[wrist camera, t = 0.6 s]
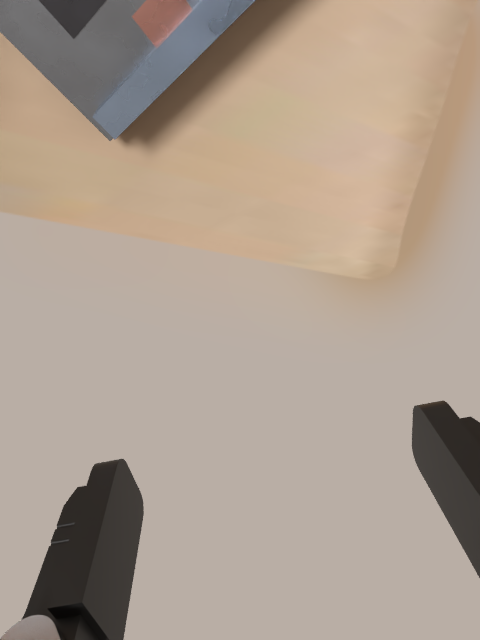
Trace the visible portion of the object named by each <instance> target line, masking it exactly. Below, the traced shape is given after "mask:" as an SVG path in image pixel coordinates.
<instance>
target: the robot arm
mask: <svg viewBox="0 0 480 640" xmlns="http://www.w3.org/2000/svg"><path fill="white" fill-rule="evenodd" d="M412 449H413V455H414V458H415V461H416V464H417V466H418V468H419V470H420V472H421V474H422V476H423V477H424V479H425V481H426V483H427V484H428V486H429V488H430V490H431V492H432V493H433V495H434V497H435V499H436V501H437V502H438V504H439V506H440V508H441V510H442V511H443V513H444V515H445V517H446V518H447V520H448V522H449V524H450V526H451V527H452V529H453V531H454V533H455V535H456V536H457V538H458V540H459V542H460V544H461V545H462V547H463V549H464V550H465V552H466V554H467V556H468V558H469V560H470V561H471V563H472V565H473V567H474V569H475V570H476V572H477V574H478V576H479V578H480V423H479V422H478V421H476V420H475V419H473V418H472V417H467V418H461V419H460V418H459V417H458V416H457V415H456V413H455V412H454V411H453V410H452V408H451V407H450V406H449V404H447V402H445V401H439V402H433V403H428V404H422V405H417V406H414V409H413V428H412ZM142 521H143V499H142V495H141V493H140V490H139V488H138V486H137V484H136V482H135V480H134V478H133V476H132V473H131V471H130V469H129V467H128V465H127V463H126V461H125V460H124V459H119V460H114V461H109V462H102V463H97V464H95V465H94V466H93V468H92V471H91V473H90V476H89V480H88V483H87V486H83V487H77V489H76V490H75V491H74V493H73V494H72V495H71V497H70V498H69V500H68V501H67V502H66V504H65V505H64V507H63V510H62V512H61V515H60V518H59V521H58V524H57V529H56V530H55V532H54V535H53V537H52V540H51V546H49V548H48V551H47V554H46V557H45V559H44V562H43V565H42V568H41V571H40V574H39V576H38V579H37V582H36V585H35V587H34V590H33V593H32V595H31V598H30V601H29V604H28V607H27V609H26V612H25V614H24V616H23V618H22V620H21V621H19V622H18V623H16V624H15V625H13V626H12V627H11V628H10V629H9V630H8V631H7V632H6V633H5V634H4V635H3V636H2V637H1V638H0V640H123V638H124V632H125V625H126V619H127V613H128V607H129V601H130V595H131V588H132V582H133V576H134V569H135V564H136V557H137V551H138V544H139V539H140V533H141V527H142Z"/></svg>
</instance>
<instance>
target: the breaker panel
mask: <svg viewBox="0 0 480 640" xmlns="http://www.w3.org/2000/svg"><path fill="white" fill-rule="evenodd" d="M254 1H255V0H0V32H1V33H2V34H3V35H4V36H5V37H6V38H7V39H8V40H9V41H10V42H11V43H12V44H13V45H14V46H15V47H16V48H17V49H18V50H19V51H20V52H21V53H22V54H23V55H24V56H25V57H26V58H27V59H28V60H29V61H30V62H31V63H32V64H33V65H34V66H35V67H36V68H37V69H38V70H39V71H40V72H41V73H42V74H43V75H44V76H45V77H46V78H47V79H48V80H49V81H50V82H51V83H52V84H53V85H54V86H55V87H56V88H57V89H58V90H59V91H60V92H61V93H62V94H63V95H64V96H65V97H66V98H67V99H68V100H69V101H70V102H71V103H72V104H73V105H74V106H75V107H76V108H77V109H78V110H79V111H80V112H81V113H82V114H83V115H84V116H85V117H86V118H87V119H88V120H89V121H90V122H91V123H92V124H93V125H94V126H95V127H96V128H97V129H98V130H99V131H100V132H101V133H102V134H103V135H104V136H105V137H106V138H107V139H108V140H109V141H111V140H112V139H113V138H114V139H116V138H117V137H118V136H119V135H120V134H121V133H122V132H123V131H124V130H125V129H126V128H127V127H128V126H129V125H130V124H131V123H132V122H133V121H134V120H135V119H136V118H137V117H138V116H139V115H140V114H141V113H142V112H143V111H144V110H145V109H146V108H147V107H148V106H149V105H150V104H151V103H152V102H153V101H154V100H155V99H156V98H157V97H158V96H159V95H160V94H161V93H162V92H163V91H164V90H166V89H167V88H168V87H169V86H170V85H171V84H172V83H173V82H174V81H175V80H176V79H177V78H178V77H179V76H180V75H181V74H182V73H183V72H184V71H185V70H186V69H187V68H188V67H189V66H190V65H191V64H192V63H193V62H194V61H195V60H196V59H197V58H198V57H199V56H200V55H201V54H202V53H203V52H204V51H205V50H206V49H207V48H208V47H209V46H210V45H211V44H212V43H213V42H214V41H215V40H216V39H217V38H218V37H219V36H220V35H221V34H222V33H223V32H224V31H225V30H226V29H227V28H228V27H229V26H230V25H231V24H232V23H233V22H234V21H235V20H236V19H237V18H238V17H239V16H240V15H241V14H242V13H243V12H244V11H245V10H246V9H247V8H248V7H249V6H250V5H251V4H252V3H253V2H254Z"/></svg>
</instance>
